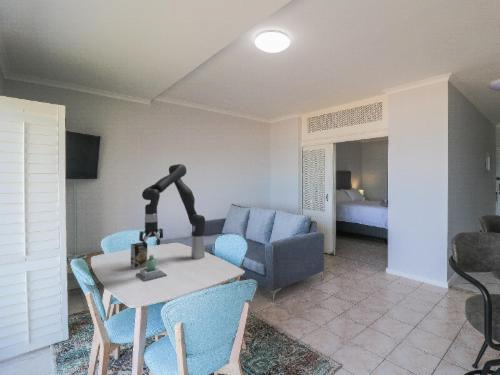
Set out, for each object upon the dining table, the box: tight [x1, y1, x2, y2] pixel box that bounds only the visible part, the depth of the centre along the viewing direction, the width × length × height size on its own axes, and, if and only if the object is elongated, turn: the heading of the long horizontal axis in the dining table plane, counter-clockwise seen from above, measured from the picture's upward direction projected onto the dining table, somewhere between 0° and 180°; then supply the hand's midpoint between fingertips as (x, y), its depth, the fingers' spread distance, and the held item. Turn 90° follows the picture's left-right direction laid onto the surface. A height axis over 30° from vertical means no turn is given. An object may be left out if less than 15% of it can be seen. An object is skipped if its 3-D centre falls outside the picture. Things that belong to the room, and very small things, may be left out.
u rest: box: [135, 266, 168, 282], centre depth 168 cm, size 14×14×4 cm
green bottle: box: [146, 254, 157, 272], centre depth 168 cm, size 5×5×12 cm
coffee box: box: [130, 241, 148, 270], centre depth 183 cm, size 9×6×16 cm
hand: (151, 246), depth 167 cm, fingers open, 8 cm apart
